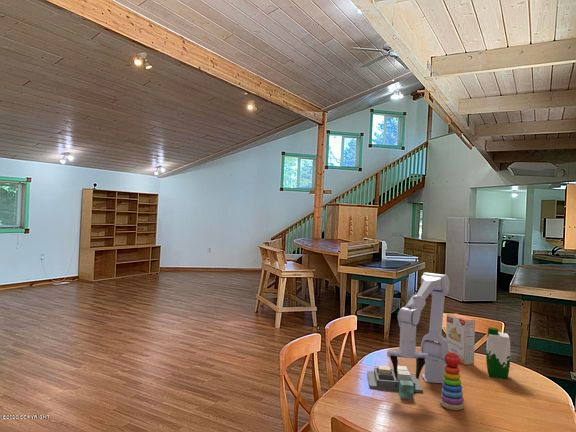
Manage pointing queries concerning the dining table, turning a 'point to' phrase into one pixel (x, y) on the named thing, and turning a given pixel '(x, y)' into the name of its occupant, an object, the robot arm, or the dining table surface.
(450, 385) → the stacking toy
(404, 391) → the teal block
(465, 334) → the cracker box
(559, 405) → the dining table surface
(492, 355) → the milk carton
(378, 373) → the puzzle board
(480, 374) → the dining table surface
